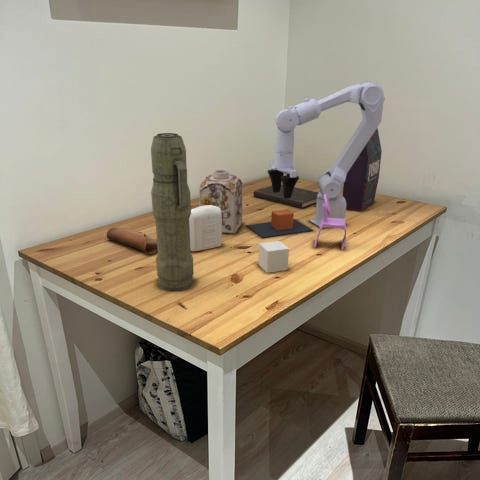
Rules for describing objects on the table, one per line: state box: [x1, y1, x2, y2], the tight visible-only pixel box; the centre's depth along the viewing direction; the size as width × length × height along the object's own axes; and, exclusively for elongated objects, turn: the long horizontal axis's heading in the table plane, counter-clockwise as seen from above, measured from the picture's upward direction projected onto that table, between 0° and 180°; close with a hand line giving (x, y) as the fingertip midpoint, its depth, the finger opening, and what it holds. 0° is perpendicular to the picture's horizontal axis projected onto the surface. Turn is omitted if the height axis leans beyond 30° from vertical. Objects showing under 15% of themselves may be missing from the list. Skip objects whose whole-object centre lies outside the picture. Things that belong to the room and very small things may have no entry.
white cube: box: [257, 240, 290, 274], centre depth 129 cm, size 6×6×6 cm
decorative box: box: [342, 126, 383, 212], centre depth 175 cm, size 8×16×28 cm, turn 148°
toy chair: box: [314, 194, 347, 251], centre depth 141 cm, size 8×9×15 cm
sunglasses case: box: [106, 227, 158, 255], centre depth 143 cm, size 18×7×7 cm, turn 51°
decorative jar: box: [198, 169, 243, 235], centre depth 153 cm, size 12×12×18 cm
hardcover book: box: [253, 183, 319, 209], centre depth 188 cm, size 16×23×2 cm
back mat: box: [246, 218, 313, 239], centre depth 157 cm, size 18×12×1 cm, turn 113°
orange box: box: [270, 208, 295, 230], centre depth 156 cm, size 6×5×5 cm
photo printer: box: [189, 205, 223, 252], centre depth 139 cm, size 10×4×12 cm, turn 123°
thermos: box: [150, 132, 195, 292], centre depth 112 cm, size 9×12×35 cm
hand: (281, 195), depth 158 cm, fingers open, 7 cm apart
